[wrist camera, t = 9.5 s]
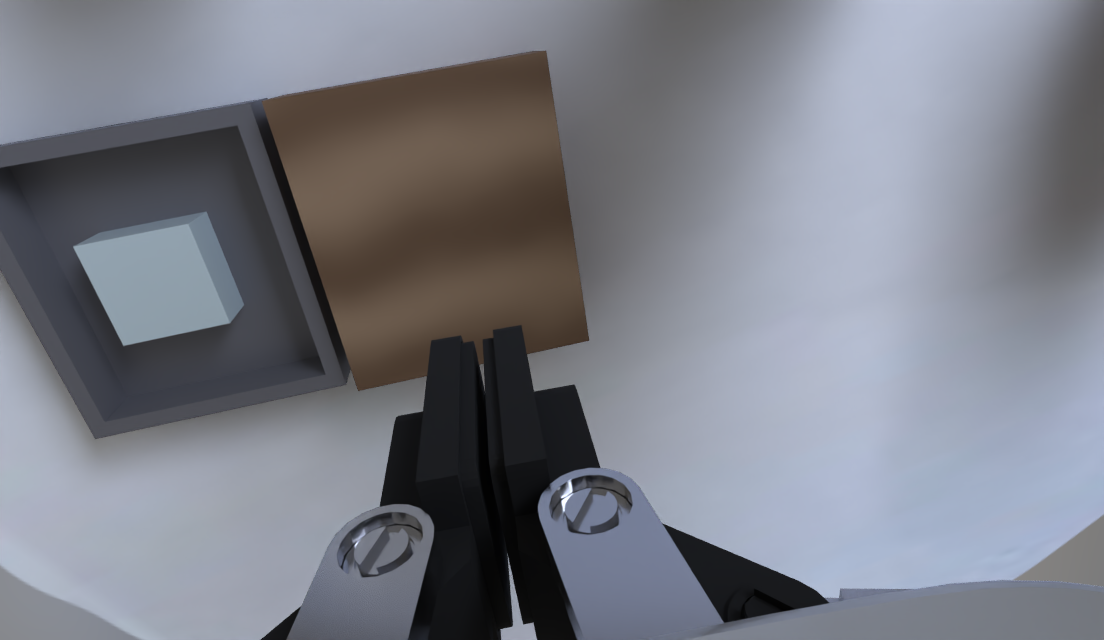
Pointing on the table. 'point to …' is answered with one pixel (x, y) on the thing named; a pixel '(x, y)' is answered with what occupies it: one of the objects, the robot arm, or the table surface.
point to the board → (435, 210)
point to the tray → (153, 195)
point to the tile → (161, 278)
